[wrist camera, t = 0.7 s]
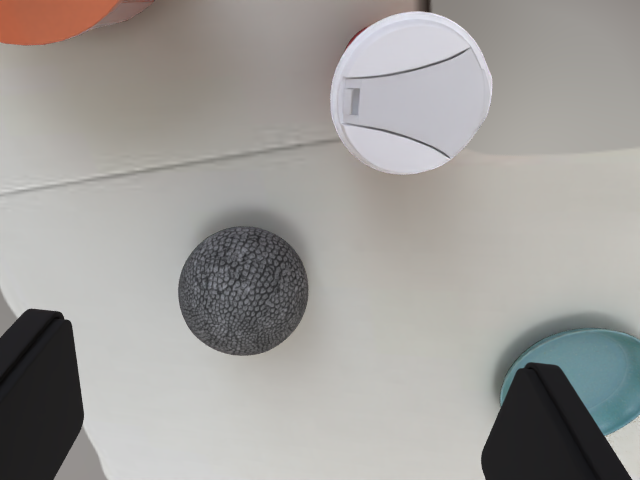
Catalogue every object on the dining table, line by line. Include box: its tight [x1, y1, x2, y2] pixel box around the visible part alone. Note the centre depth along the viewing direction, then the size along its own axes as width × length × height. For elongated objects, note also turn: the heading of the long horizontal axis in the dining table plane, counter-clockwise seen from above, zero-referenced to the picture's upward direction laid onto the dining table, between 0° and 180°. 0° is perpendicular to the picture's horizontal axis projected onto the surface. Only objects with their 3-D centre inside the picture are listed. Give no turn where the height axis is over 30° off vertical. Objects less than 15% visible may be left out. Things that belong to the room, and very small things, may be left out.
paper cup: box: [330, 11, 492, 175], centre depth 28 cm, size 8×8×14 cm
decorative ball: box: [178, 227, 308, 356], centre depth 37 cm, size 10×10×10 cm
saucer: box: [500, 328, 640, 436], centre depth 46 cm, size 15×15×3 cm
